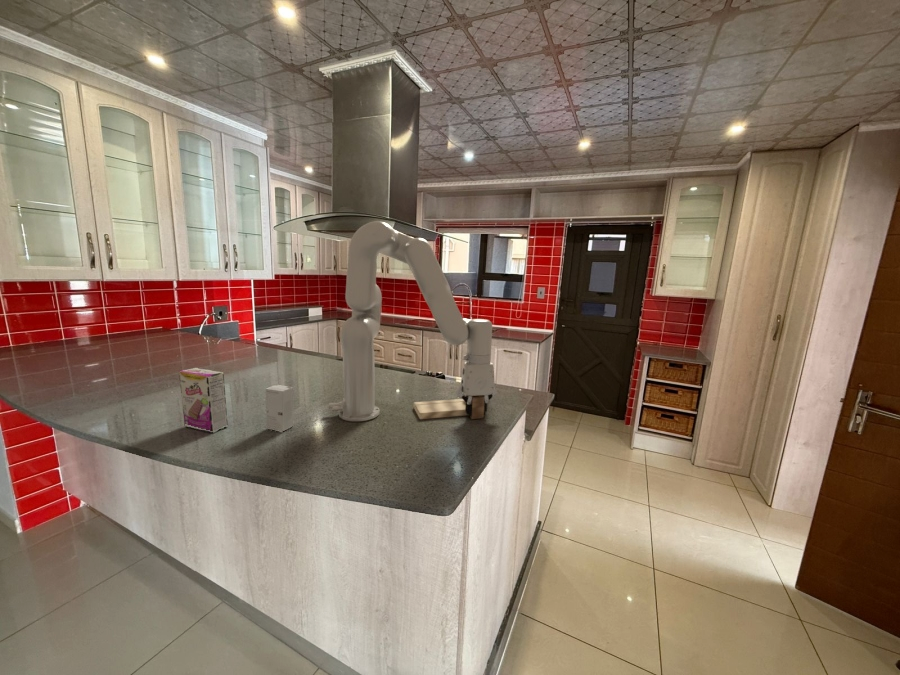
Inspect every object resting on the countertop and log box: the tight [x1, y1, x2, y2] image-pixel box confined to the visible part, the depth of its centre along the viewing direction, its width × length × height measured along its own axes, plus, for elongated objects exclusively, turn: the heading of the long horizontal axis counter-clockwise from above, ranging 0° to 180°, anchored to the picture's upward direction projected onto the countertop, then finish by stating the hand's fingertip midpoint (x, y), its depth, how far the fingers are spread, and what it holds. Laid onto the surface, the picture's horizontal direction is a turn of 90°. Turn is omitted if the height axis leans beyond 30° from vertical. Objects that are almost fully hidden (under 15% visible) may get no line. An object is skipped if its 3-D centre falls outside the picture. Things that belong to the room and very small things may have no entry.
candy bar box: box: [178, 367, 229, 431], centre depth 96 cm, size 11×5×16 cm, turn 71°
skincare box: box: [265, 384, 294, 431], centre depth 97 cm, size 6×4×12 cm
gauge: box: [462, 392, 485, 420], centre depth 114 cm, size 4×12×8 cm, turn 16°
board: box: [413, 398, 469, 420], centre depth 116 cm, size 22×10×2 cm, turn 107°
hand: (475, 413), depth 111 cm, fingers closed on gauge, 4 cm apart
